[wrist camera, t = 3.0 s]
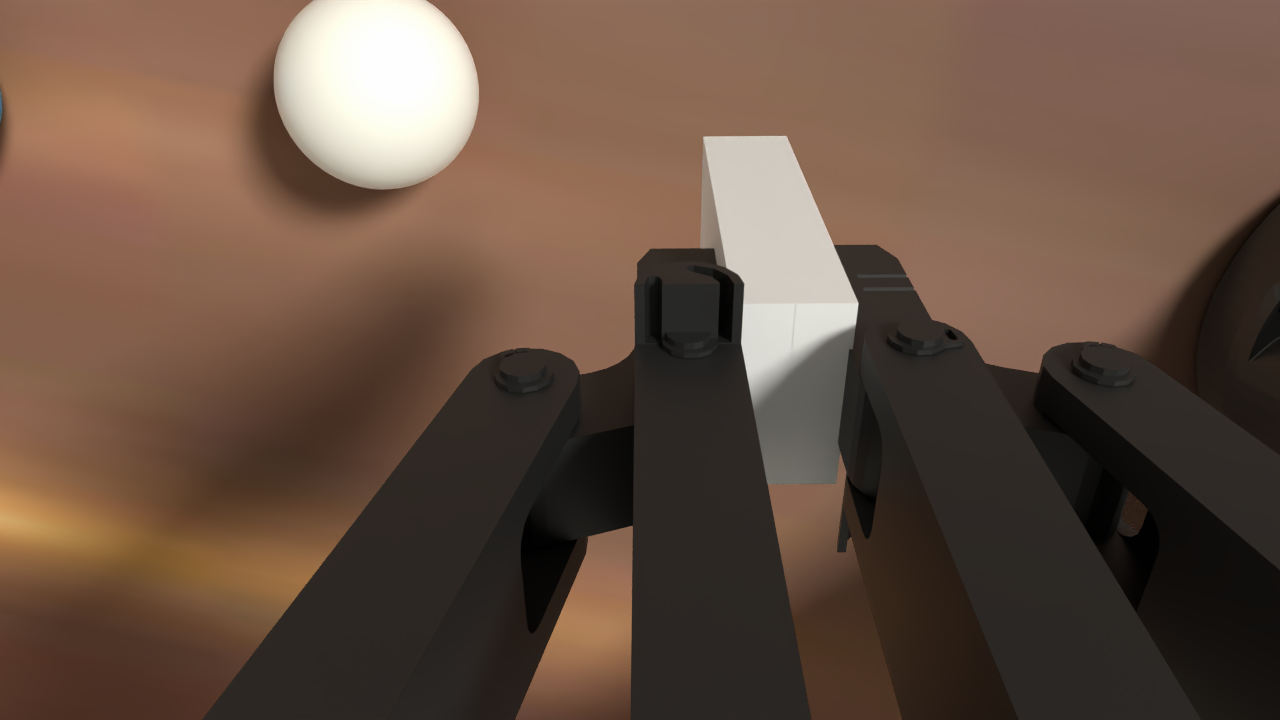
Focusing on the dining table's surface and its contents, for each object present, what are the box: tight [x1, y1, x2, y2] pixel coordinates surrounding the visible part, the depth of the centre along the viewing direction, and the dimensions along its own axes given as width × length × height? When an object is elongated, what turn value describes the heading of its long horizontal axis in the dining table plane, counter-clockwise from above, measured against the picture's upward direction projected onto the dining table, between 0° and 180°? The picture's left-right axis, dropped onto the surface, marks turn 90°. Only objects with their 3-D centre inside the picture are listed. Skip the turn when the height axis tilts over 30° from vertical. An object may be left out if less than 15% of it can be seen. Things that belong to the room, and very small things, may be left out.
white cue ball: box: [274, 0, 479, 190], centre depth 26 cm, size 6×6×6 cm
